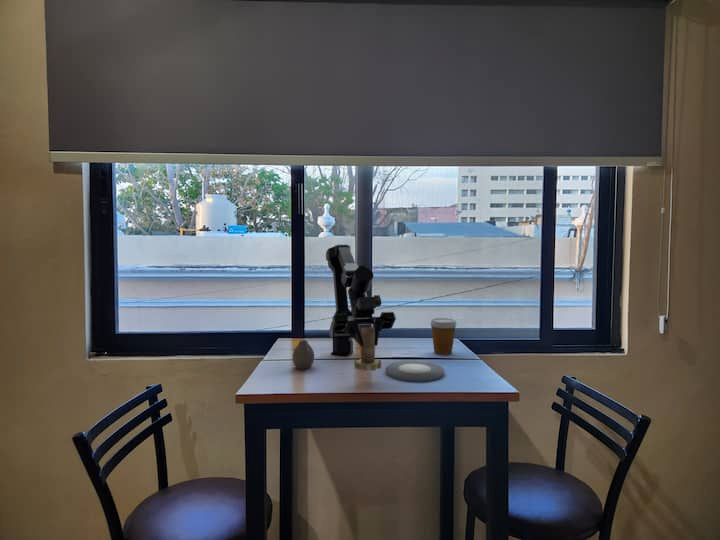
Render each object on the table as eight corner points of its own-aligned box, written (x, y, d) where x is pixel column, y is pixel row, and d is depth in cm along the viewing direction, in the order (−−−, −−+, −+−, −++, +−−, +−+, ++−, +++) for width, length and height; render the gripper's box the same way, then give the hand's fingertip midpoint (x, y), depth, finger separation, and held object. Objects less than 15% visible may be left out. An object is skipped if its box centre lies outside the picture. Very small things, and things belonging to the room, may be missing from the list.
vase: (317, 365, 150) (317, 339, 149) (308, 371, 143) (308, 344, 143) (298, 363, 152) (298, 337, 151) (288, 369, 146) (288, 342, 145)
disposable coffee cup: (445, 357, 161) (445, 323, 160) (424, 352, 168) (424, 320, 167) (461, 353, 167) (462, 320, 166) (440, 348, 174) (441, 317, 173)
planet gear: (350, 369, 131) (350, 329, 130) (359, 362, 139) (359, 324, 138) (376, 372, 129) (376, 331, 128) (384, 364, 136) (385, 326, 135)
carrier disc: (378, 377, 137) (378, 373, 137) (394, 362, 154) (394, 358, 154) (438, 384, 131) (438, 379, 131) (448, 367, 148) (448, 363, 148)
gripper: (333, 286, 133) (342, 331, 123) (394, 285, 138) (407, 328, 128) (328, 309, 141) (335, 353, 132) (385, 307, 146) (397, 349, 137)
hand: (369, 345), depth 132 cm, fingers closed on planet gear, 4 cm apart
